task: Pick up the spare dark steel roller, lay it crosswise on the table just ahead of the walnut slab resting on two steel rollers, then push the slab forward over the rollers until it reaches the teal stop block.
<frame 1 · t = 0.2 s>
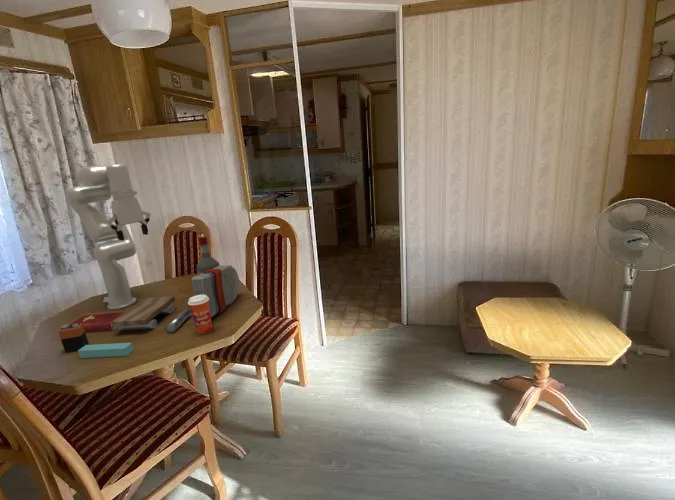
hand: (134, 237, 150), 37 cm above the table, tool pointing down, fingers open, 9 cm apart
paper cup: (205, 331, 144), on the table
front roller: (138, 329, 151), on the table
decorative stone tablet: (222, 308, 164), on the table
walnut slab: (145, 310, 157), point 5 cm above the table, slide at 0.0 cm
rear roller: (156, 314, 165), on the table
hardcover book: (100, 327, 158), on the table
liquor: (214, 296, 179), on the table
battery: (77, 348, 139), on the table
stop block: (107, 354, 133), on the table
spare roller: (179, 324, 152), on the table
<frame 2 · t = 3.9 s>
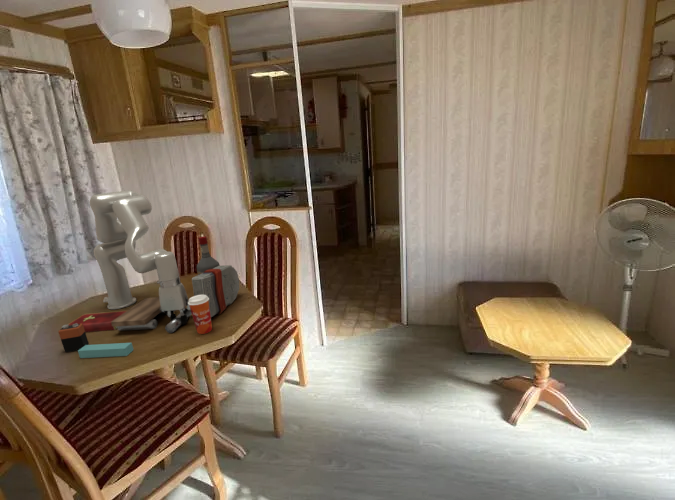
hand: (179, 323, 152), 0 cm above the table, tool pointing down, fingers closed on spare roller, 3 cm apart
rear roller: (156, 313, 165), on the table, tilted 30°
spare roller: (179, 324, 152), on the table, touching gripper
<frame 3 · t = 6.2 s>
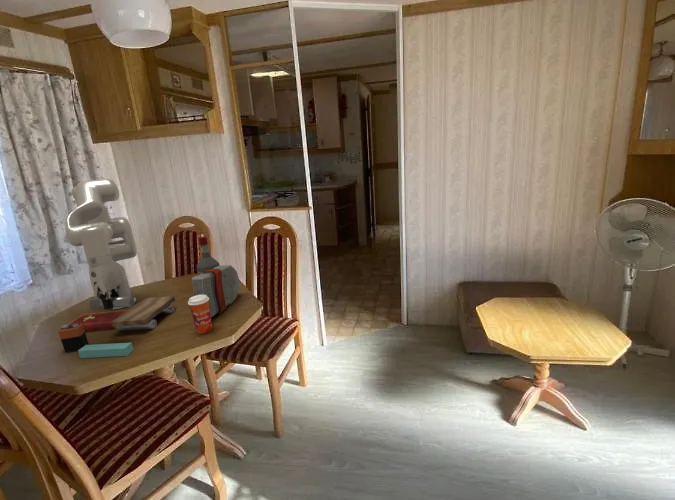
hand: (112, 305, 137), 15 cm above the table, tool pointing down, fingers closed on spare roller, 3 cm apart
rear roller: (156, 314, 165), on the table, tilted 16°
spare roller: (113, 307, 137), point 15 cm above the table, touching gripper
everything else where it was.
when the fingers open (1 cm above the table, at t = 8.6 s): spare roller stays where it is, on the table.
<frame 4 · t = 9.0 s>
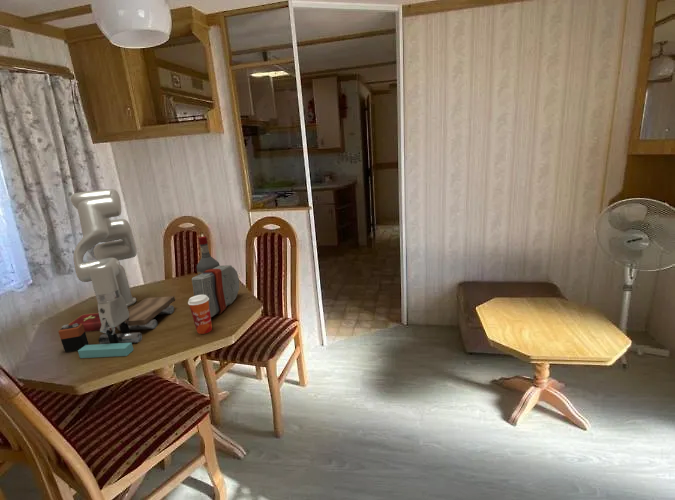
hand: (120, 338, 140), 2 cm above the table, tool pointing down, fingers open, 6 cm apart
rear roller: (156, 314, 165), on the table
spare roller: (121, 342, 141), on the table
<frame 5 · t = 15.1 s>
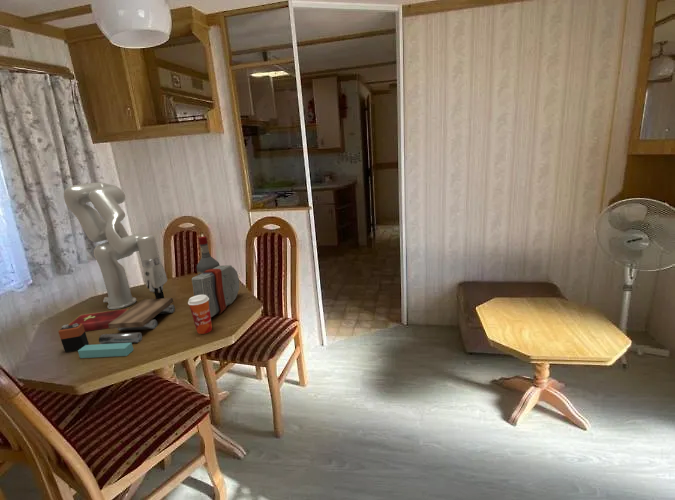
hand: (160, 299, 168), 5 cm above the table, tool pointing down, fingers closed
walnut slab: (143, 312, 155), point 5 cm above the table, slide at 1.7 cm, touching gripper
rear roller: (156, 314, 165), on the table, tilted 24°
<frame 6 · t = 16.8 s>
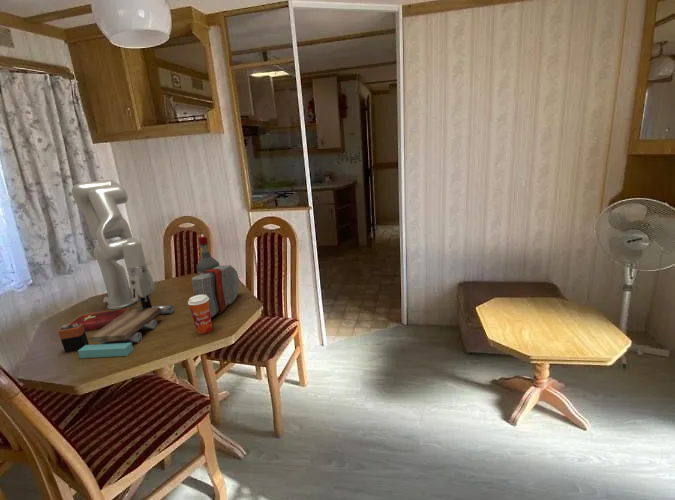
hand: (147, 309, 158), 5 cm above the table, tool pointing down, fingers closed
walnut slab: (127, 323, 145), point 5 cm above the table, slide at 12.1 cm, touching gripper
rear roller: (156, 314, 165), on the table, tilted 7°
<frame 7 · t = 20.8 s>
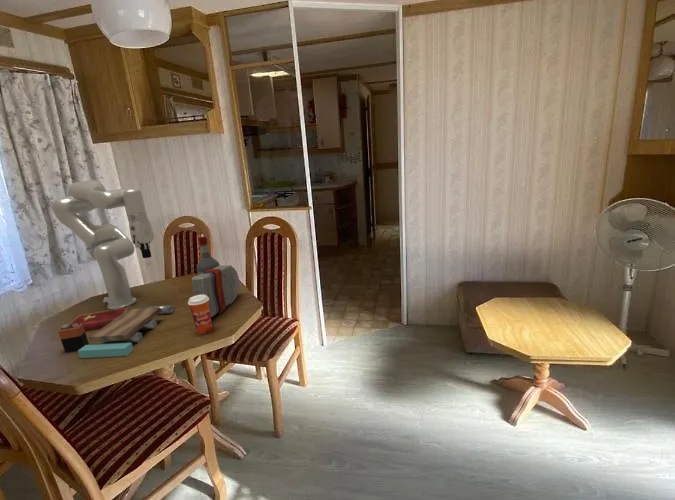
hand: (147, 257, 164), 25 cm above the table, tool pointing down, fingers closed
walnut slab: (127, 323, 145), point 5 cm above the table, slide at 12.0 cm
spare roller: (121, 342, 141), on the table, tilted 11°
at the end: walnut slab slide at 12.0 cm; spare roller inside the target area (0.0 cm from its centre), on the table; the gripper is holding nothing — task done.
